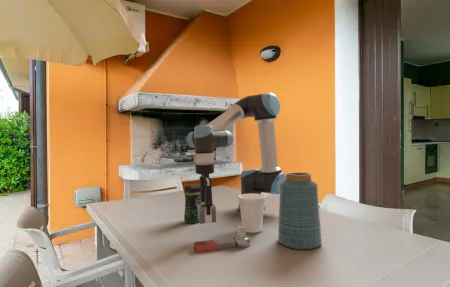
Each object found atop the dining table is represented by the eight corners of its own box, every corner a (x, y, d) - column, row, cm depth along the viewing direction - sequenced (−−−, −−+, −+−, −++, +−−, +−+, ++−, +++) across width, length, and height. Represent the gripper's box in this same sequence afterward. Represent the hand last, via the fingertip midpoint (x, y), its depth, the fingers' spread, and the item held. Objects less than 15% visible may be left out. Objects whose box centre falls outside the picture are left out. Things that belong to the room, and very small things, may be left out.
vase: (315, 254, 94) (314, 177, 94) (271, 245, 103) (270, 175, 102) (326, 239, 108) (324, 172, 107) (286, 232, 116) (285, 170, 116)
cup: (268, 227, 124) (268, 194, 124) (263, 236, 112) (263, 199, 112) (242, 225, 128) (242, 192, 128) (234, 233, 116) (234, 198, 116)
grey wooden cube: (212, 217, 115) (212, 203, 114) (216, 222, 108) (215, 206, 108) (197, 219, 113) (197, 204, 113) (200, 223, 107) (199, 208, 107)
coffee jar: (191, 225, 130) (191, 186, 130) (181, 221, 135) (181, 184, 135) (206, 220, 137) (206, 183, 137) (196, 217, 142) (196, 182, 142)
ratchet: (246, 241, 107) (246, 224, 107) (252, 247, 101) (251, 228, 101) (193, 247, 102) (193, 229, 102) (196, 254, 96) (195, 234, 96)
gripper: (192, 162, 118) (194, 214, 119) (199, 166, 100) (201, 228, 100) (209, 161, 120) (211, 212, 121) (219, 165, 102) (221, 226, 102)
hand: (206, 219), depth 111 cm, fingers closed on grey wooden cube, 6 cm apart
